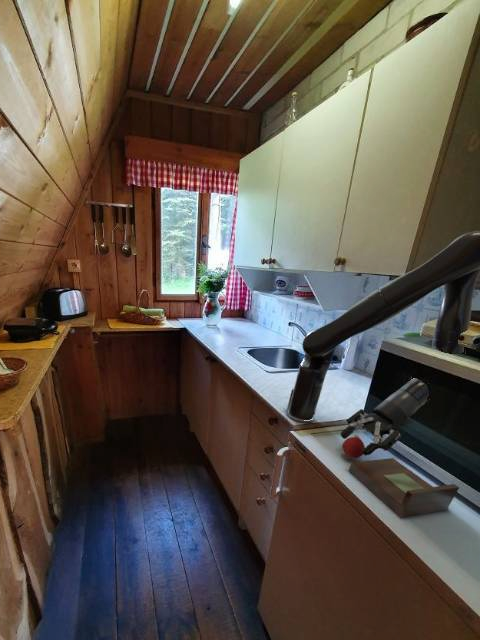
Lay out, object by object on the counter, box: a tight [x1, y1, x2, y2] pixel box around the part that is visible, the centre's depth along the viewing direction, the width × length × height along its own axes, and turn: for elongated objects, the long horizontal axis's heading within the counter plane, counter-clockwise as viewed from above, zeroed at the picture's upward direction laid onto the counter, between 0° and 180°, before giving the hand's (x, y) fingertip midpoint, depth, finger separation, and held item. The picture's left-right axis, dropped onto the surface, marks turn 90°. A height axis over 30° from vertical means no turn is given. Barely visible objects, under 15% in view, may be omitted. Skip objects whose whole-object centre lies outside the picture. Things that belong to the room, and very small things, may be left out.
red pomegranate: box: [342, 434, 366, 460], centre depth 90 cm, size 6×6×8 cm
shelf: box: [348, 457, 460, 518], centre depth 79 cm, size 17×15×7 cm
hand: (352, 445), depth 89 cm, fingers open, 8 cm apart
